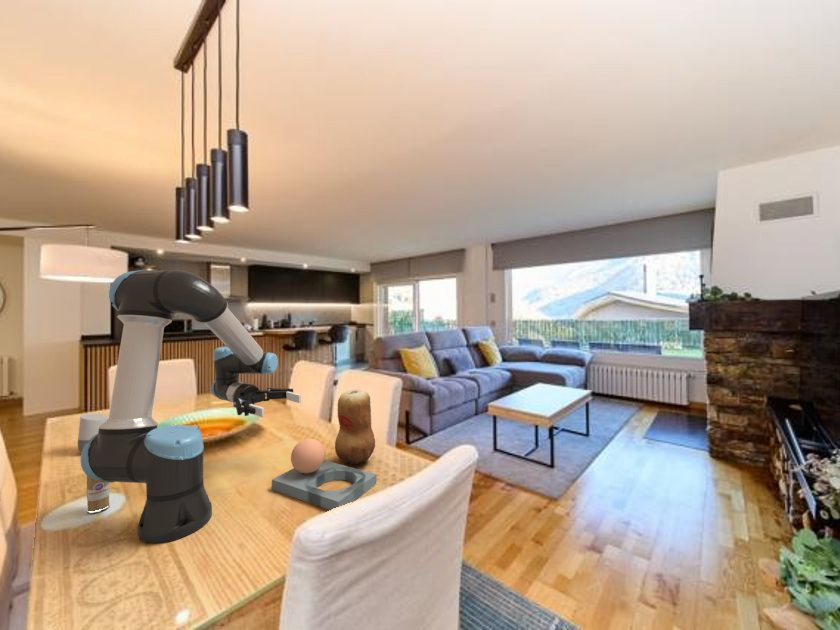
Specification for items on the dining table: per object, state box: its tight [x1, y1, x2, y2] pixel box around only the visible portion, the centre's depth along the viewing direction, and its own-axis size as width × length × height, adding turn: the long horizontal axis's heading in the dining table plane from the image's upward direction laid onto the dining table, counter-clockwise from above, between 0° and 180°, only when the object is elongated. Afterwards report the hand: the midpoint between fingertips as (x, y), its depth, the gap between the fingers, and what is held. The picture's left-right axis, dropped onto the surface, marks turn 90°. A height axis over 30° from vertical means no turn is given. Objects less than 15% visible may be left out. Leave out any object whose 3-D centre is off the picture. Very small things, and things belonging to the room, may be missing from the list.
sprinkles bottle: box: [86, 475, 110, 511], centre depth 93 cm, size 5×5×14 cm
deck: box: [271, 459, 378, 511], centre depth 105 cm, size 26×17×3 cm, turn 62°
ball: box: [290, 438, 326, 474], centre depth 108 cm, size 10×10×10 cm
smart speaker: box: [77, 413, 109, 453], centre depth 132 cm, size 10×9×14 cm
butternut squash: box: [334, 388, 376, 466], centre depth 121 cm, size 14×13×25 cm
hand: (282, 405), depth 111 cm, fingers open, 13 cm apart
